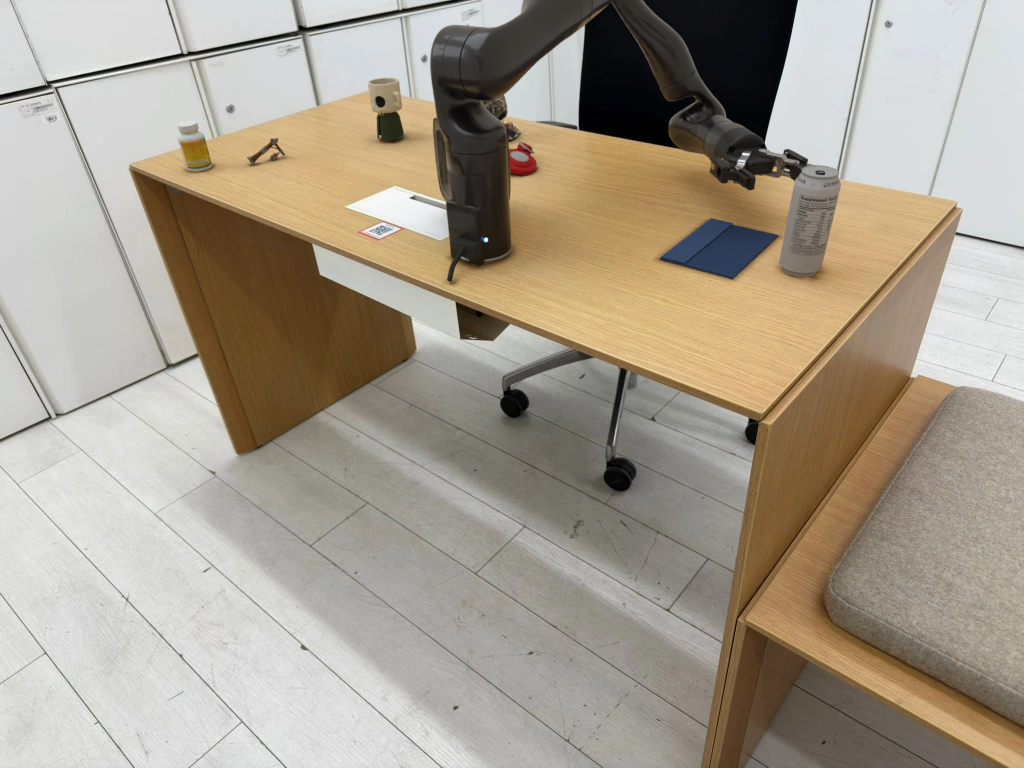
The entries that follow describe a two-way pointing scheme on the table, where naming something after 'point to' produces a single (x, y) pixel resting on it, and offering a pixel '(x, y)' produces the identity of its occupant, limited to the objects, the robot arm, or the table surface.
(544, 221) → the table surface
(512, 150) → the tracker holder
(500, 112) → the plant with pod
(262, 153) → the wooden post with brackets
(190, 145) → the supplement bottle
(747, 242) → the open blue folder
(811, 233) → the energy drink can
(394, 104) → the character mug
